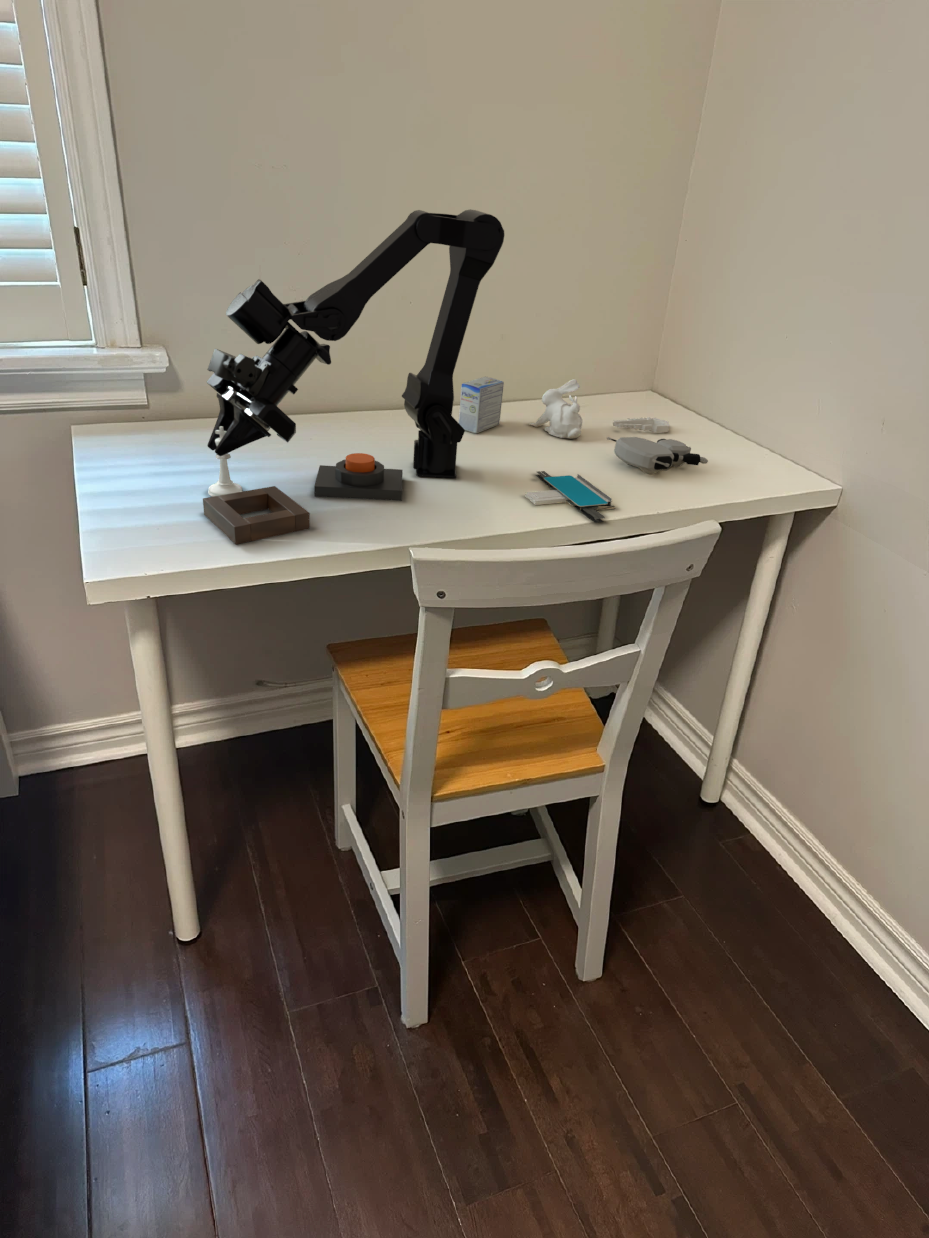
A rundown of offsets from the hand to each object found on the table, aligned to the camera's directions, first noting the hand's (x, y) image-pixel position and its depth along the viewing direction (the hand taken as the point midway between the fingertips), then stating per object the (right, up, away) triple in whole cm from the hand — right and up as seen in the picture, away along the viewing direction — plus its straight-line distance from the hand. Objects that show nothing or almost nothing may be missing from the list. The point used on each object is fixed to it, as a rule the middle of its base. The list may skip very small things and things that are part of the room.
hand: (213, 451), depth 123 cm
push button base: (+20, -4, +10) cm, 22 cm away
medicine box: (+39, +12, +41) cm, 58 cm away
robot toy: (+70, +3, +29) cm, 75 cm away
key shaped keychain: (+71, +13, +47) cm, 87 cm away
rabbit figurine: (+55, +12, +42) cm, 70 cm away
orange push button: (+20, -1, +8) cm, 22 cm away
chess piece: (+1, -6, +4) cm, 7 cm away
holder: (+7, -11, -4) cm, 13 cm away
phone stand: (+52, -5, +13) cm, 53 cm away
